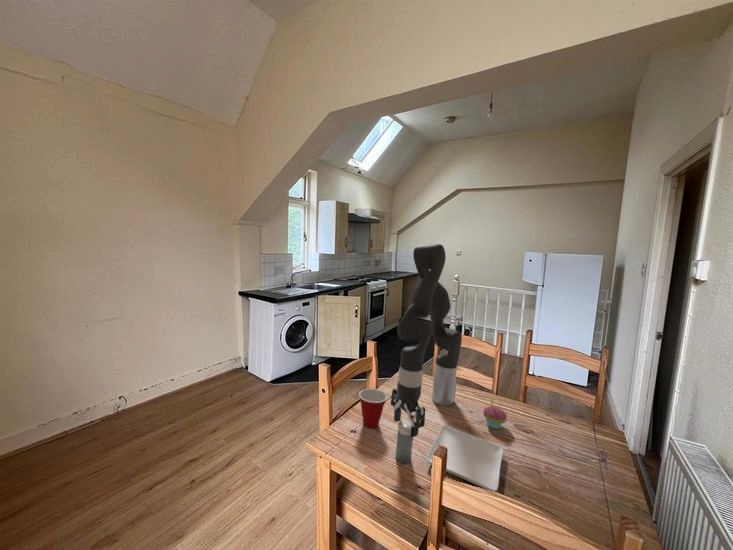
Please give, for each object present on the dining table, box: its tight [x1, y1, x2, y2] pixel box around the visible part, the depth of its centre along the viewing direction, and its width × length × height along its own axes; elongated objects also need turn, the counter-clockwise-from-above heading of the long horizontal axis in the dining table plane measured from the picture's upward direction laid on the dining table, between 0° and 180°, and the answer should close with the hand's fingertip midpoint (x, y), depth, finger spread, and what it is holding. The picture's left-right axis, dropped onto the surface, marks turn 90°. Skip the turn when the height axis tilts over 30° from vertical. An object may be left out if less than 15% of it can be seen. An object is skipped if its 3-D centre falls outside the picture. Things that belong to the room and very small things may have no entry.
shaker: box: [395, 420, 414, 465], centre depth 95 cm, size 5×5×12 cm
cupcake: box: [483, 395, 508, 430], centre depth 116 cm, size 9×8×12 cm
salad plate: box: [425, 424, 504, 492], centre depth 97 cm, size 21×21×3 cm
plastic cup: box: [358, 388, 388, 429], centre depth 112 cm, size 11×11×12 cm
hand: (405, 428), depth 95 cm, fingers open, 8 cm apart
